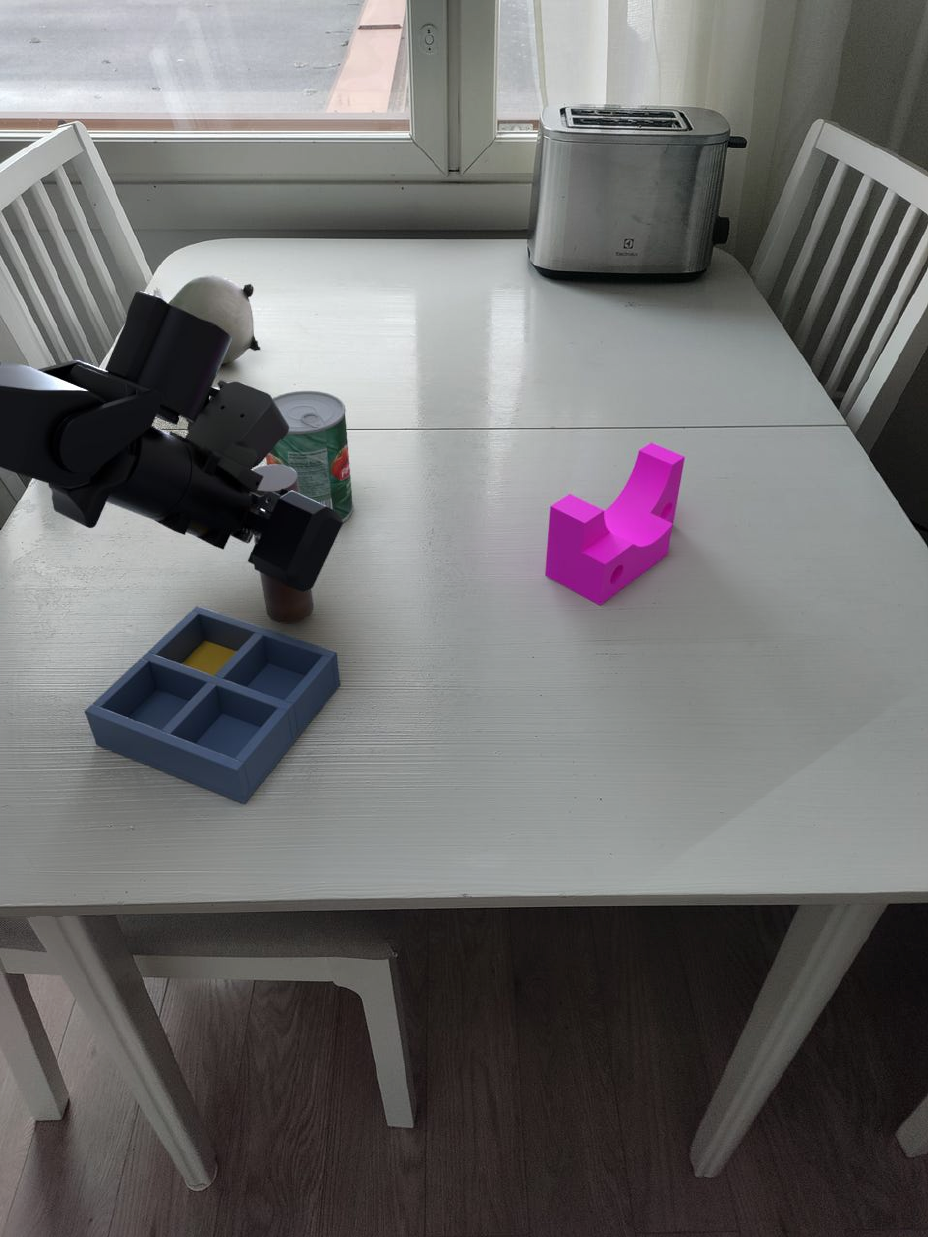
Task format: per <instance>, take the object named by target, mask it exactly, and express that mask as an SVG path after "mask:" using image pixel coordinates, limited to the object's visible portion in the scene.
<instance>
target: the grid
mask: <svg viewBox="0 0 928 1237" xmlns="http://www.w3.org/2000/svg"><path fill="white" fill-rule="evenodd" d="M338 660H339V659H338V652H337V651H336V650H332V649H329V648H326V647H323V646H321V645H320V646H319V645H317V644H315V643H311V642H308V641H305V640H302V639H299V638H296V637H293V636H290V635H286V634H284V633H280V632H278V631H274V630H272V629H270V628H266V627H262V626H259V625H257V624H253V623H251V622H248V621H245V620H241V619H238V618H236V617H232V616H229V615H226V614H223V613H220V612H217V611H214V610H212V609H209V608H205V607H201V606H198V605H196V606H195V607H194V608H193V609H192V610H191V611H190V612H188V613H187V614H186V615H185V616H184V617H183V618H182V619H181V620H180V621H178V623H176V624H175V626H174V627H173V628H171V629H170V630H169V631H168V632H167V633H166V634H165V635H164V636H162V638H160V639H159V641H157V642H156V643H155V645H153V646H152V647H151V648H149V650H148V651H147V652H146V653H145V654H144V655H143V656H142V657H141V658H139V659H138V660H137V661H136V662H135V663H134V664H133V665H132V666H131V667H130V668H129V669H127V671H125V672H124V673H123V674H122V675H121V676H120V677H119V678H118V679H117V680H116V681H115V682H114V683H112V684H111V686H109V687H108V688H107V689H106V690H105V691H104V692H103V693H102V694H101V695H100V696H98V697H97V699H96V700H95V701H93V702H92V703H91V704H90V705H89V706H88V707H87V708H86V709H85V710H84V714H85V716H86V720H87V722H88V725H89V728H90V730H91V733H92V736H93V739H94V742H95V744H96V746H99V747H101V748H104V749H105V750H106V749H107V751H112V752H114V753H116V754H118V755H121V756H123V757H126V758H129V759H130V760H134V761H136V762H138V763H140V764H143V765H146V766H148V767H151V768H153V769H156V770H159V771H161V772H163V773H166V774H168V775H171V776H173V777H175V778H178V779H181V780H184V781H185V782H188V783H190V784H193V785H196V786H198V787H200V788H202V789H205V790H208V791H210V792H213V793H216V794H218V795H221V796H223V797H226V798H228V799H230V800H233V801H235V802H238V803H240V804H243V805H245V804H246V803H247V802H248V801H249V800H250V799H251V797H252V796H253V794H254V793H255V792H256V791H257V790H258V788H259V787H260V786H261V785H262V784H263V783H264V781H265V780H266V778H267V777H268V776H269V775H270V773H271V772H272V771H273V769H275V767H276V766H277V765H278V764H279V762H280V761H281V760H282V759H283V757H284V756H285V755H286V753H287V752H288V751H289V750H290V748H291V747H292V746H293V745H294V743H295V742H296V741H297V740H298V739H299V737H300V736H301V735H302V734H303V732H304V731H305V730H306V729H307V727H308V726H309V725H310V724H311V722H313V720H314V719H315V718H316V716H317V715H318V714H319V713H320V712H321V710H322V709H323V707H324V706H325V705H326V704H327V703H328V702H329V700H331V698H332V696H333V695H334V694H335V693H336V692H337V690H338V689H339V688H340V686H341V678H340V668H339V661H338Z"/></svg>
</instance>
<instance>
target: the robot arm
mask: <svg viewBox="0 0 928 1237" xmlns="http://www.w3.org/2000/svg"><path fill="white" fill-rule="evenodd" d="M231 340H232V337H231V336H230V335H229V334H228V333H227V332H226V331H224V330H223V329H222V328H220V327H219V326H217V325H216V324H214V323H211V322H208V321H205V320H202V319H199V318H197V317H195V316H194V315H192V314H190V313H188V312H186V311H183V310H181V309H179V308H177V307H175V306H172V305H170V304H169V302H167V301H166V300H165V301H164V300H163V299H162V298H160V297H157V296H154V294H151V293H147V292H144V291H141V290H137V291H136V292H135V293H134V295H133V297H132V300H131V302H130V304H129V306H128V309H127V313H126V319H125V322H124V325H123V328H122V329H121V332H120V334H119V336H118V338H117V340H116V343H115V345H114V347H113V350H112V352H111V355H110V357H109V359H108V361H107V363H106V367H105V368H104V369H103V368H99V367H97V366H94V365H93V364H92V365H91V364H90V363H87V362H84V361H82V360H79V359H72V360H69V361H64V362H61V363H57V364H54V365H50V366H45V367H41V368H38V369H36V368H33V367H30V366H28V365H25V364H19V363H18V364H17V363H0V468H1V469H4V470H7V471H10V472H12V473H15V474H18V475H21V476H24V477H27V478H31V479H34V480H36V481H40V482H42V483H46V484H48V487H49V489H50V490H51V493H52V494H51V501H52V507H53V511H55V513H58V514H60V515H62V516H63V517H66V518H68V519H70V520H72V521H74V522H76V523H78V524H80V525H82V526H84V527H86V528H88V529H93V528H95V527H96V526H97V525H98V522H99V519H100V517H101V515H102V512H103V510H104V508H105V506H106V504H107V503H108V504H111V505H114V506H116V507H119V508H121V509H124V510H126V511H129V512H132V513H134V514H137V515H140V516H142V517H145V518H148V519H150V520H153V521H155V522H156V523H158V524H160V525H162V526H164V527H166V528H167V529H170V530H172V531H174V532H176V533H178V534H180V535H184V536H185V535H186V534H189V535H191V536H194V537H196V538H198V539H200V540H202V541H203V542H205V543H207V544H209V545H211V546H213V547H215V548H218V549H220V550H223V551H224V549H226V548H225V547H226V546H227V543H228V541H229V539H230V538H231V537H233V538H235V539H237V540H239V541H241V542H242V543H244V544H250V543H251V542H252V539H253V538H254V536H256V538H255V540H254V539H253V541H254V542H253V543H254V546H253V548H252V551H251V552H250V554H249V556H248V558H247V562H248V563H250V564H252V565H253V567H254V568H253V569H254V570H255V571H257V572H259V573H260V572H261V573H263V574H265V575H267V576H269V577H271V578H272V579H274V580H276V581H278V582H280V583H282V584H284V585H286V586H288V587H290V588H293V589H296V590H298V591H301V592H305V591H307V590H310V589H311V590H312V589H313V588H314V586H315V584H316V582H317V580H318V577H319V575H320V573H321V571H322V570H323V567H324V564H325V563H326V560H327V559H328V556H329V554H330V553H331V550H332V548H333V546H334V543H335V542H336V539H337V537H338V535H339V533H340V531H341V529H342V526H343V524H344V522H343V521H342V517H341V513H339V512H337V511H335V510H333V509H331V508H329V507H327V506H325V505H323V504H321V503H319V502H316V501H314V500H312V499H310V498H308V497H305V496H303V495H301V494H299V493H297V492H295V491H292V490H291V491H290V492H289V491H287V490H285V489H283V488H282V489H281V491H280V493H279V494H277V493H275V492H272V491H268V492H266V493H264V494H263V495H262V496H259V495H257V494H254V493H252V492H251V490H252V491H254V492H256V491H257V489H258V487H259V485H260V483H261V481H262V479H263V477H264V476H262V475H261V474H259V473H257V472H255V471H253V470H254V469H255V468H257V467H259V465H260V464H261V463H263V461H264V460H265V459H266V456H267V455H268V453H269V452H270V451H271V450H272V449H273V447H274V446H275V445H276V444H277V443H278V441H279V440H282V439H283V438H284V437H285V436H286V435H287V433H288V431H289V425H288V423H287V421H286V420H285V418H284V417H283V415H282V413H281V412H280V410H279V409H278V407H277V405H276V404H275V402H274V400H273V399H272V398H273V397H272V396H271V395H270V394H269V393H268V392H266V391H263V390H260V389H258V388H256V387H253V386H250V385H249V384H246V383H243V382H240V381H235V380H234V381H233V380H232V381H229V382H227V381H224V380H222V379H219V380H218V381H217V386H218V387H213V384H214V382H215V379H216V377H217V375H218V372H219V370H220V368H221V366H222V364H221V363H222V361H223V359H224V356H225V354H226V352H227V350H228V347H229V345H230V343H231ZM156 418H158V419H159V420H162V421H165V422H167V423H168V424H172V425H174V426H178V424H179V421H180V419H181V418H183V419H185V421H186V422H187V423H188V424H187V427H186V430H187V434H186V435H185V437H184V436H183V435H180V434H178V433H176V432H173V431H170V432H169V433H168V432H166V431H164V430H162V429H159V428H158V427H155V426H154V425H153V424H154V422H155V419H156ZM251 507H252V508H254V509H256V510H258V511H259V512H258V514H256V513H254V512H252V511H250V508H251ZM261 508H262V509H264V510H262V509H261ZM265 510H266V511H265ZM268 511H269V512H268ZM255 543H256V544H255Z"/></svg>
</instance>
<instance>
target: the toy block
mask: <svg viewBox="0 0 928 1237" xmlns="http://www.w3.org/2000/svg"><path fill="white" fill-rule="evenodd" d="M685 458H686V456H684V455H682V454H680V453H678V452H675V451H672V450H670V449H668V448H666V447H663V446H661V445H658V444H656V443H654V442H650V443H648V444H647V445H645V446H643V447H642V448H640V449H639V450H638V452H637V457H636V460H635V463H634V465H633V468H632V471H631V472H630V476H629V478H628V480H627V481H626V483H625V485H624V486H623V488H622V490H621V492H619V494H618V496H617V497H616V499H615V500H614V501H613V502H612V503H611V504H610V505H609V506H608V507H607V508H606V509H605V510H604V509H602V508H600V507H598V506H596V505H594V504H592V503H590V502H588V501H586V500H583V499H581V498H580V497H578V496H576V495H573V494H571V493H569V494H567V495H565V496H564V497H563V498H561V499H559V500H558V501H556V502H554V503H553V504H551V505H550V506H549V519H548V531H547V532H548V533H547V544H546V558H545V559H546V560H545V561H546V562H545V572H544V575H545V576H546V577H548V578H549V579H551V580H553V581H555V582H556V583H559V584H560V585H562V586H564V587H566V588H567V589H569V590H571V591H573V592H575V593H576V594H579V595H580V596H582V597H584V598H586V599H588V600H589V601H591V602H593V603H594V604H597V605H598V606H601V605H603V604H604V603H605V602H607V601H609V599H611V598H613V596H615V595H616V594H617V593H619V592H620V591H622V590H623V589H624V588H626V587H627V586H628V585H630V584H631V583H632V582H633V581H635V580H636V579H637V578H639V577H640V576H641V575H643V574H644V573H645V572H647V571H648V570H650V569H651V568H652V567H653V566H655V565H656V564H658V563H659V562H661V560H662V559H664V558H665V557H667V556H668V553H669V549H670V541H671V536H672V532H673V525H674V523H675V522H674V521H675V515H676V510H677V504H678V498H679V492H680V488H681V481H682V476H683V472H684V471H683V470H684V465H685Z"/></svg>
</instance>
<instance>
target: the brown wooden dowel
mask: <svg viewBox="0 0 928 1237" xmlns="http://www.w3.org/2000/svg"><path fill="white" fill-rule="evenodd" d="M252 470H253V471H255V472H257V473H259V474H261V475H262V476H264V477H263V479H262V481H261V483H260V485H259V487H258V489H257V491H256V492H254V491H252V490H251V492H252V493H254V494H257V495H259V496H262V495H263V494H264V493H266V492H268V491H272V492H275V493H277V494H279V493H280V491H281V489H282V488H283V489H285V490H287V491H289V492H290V491H291V490H292V491H295V492H297V493H299V494H300V491H299V483H298V475H297V473H296V471H295V470H293V469H292V468H290V467H288V466H284V465H267V464H265V465H261V466H257V467H255V468H253V469H252ZM261 509H262V508H261ZM262 510H264V509H262ZM250 511H252V512H254V513H256V514H258V512H259V511H258V510H256V509H254V508H252V507H251V508H250ZM265 511H266V510H265ZM268 512H269V511H268ZM255 538H256V536H254V535H253V541H254V540H255ZM255 544H256V543H255V542H254V545H255ZM259 576H260V582H261V587H262V594H263V601H264V607H265V613H266V615H267V617H268V618H269V619H271V620H272V621H274V622H276V623H280V624H296V623H299V622H301V621H303V620H305V619H307V618H308V617H309V616H310V615H311V614H312V612H313V610H314V598H313V590H312V589H310V590H307V591H305V592H301V591H298V590H296V589H293V588H290V587H288V586H286V585H284V584H282V583H280V582H278V581H276V580H274V579H272V578H271V577H269V576H267V575H265V574H263V573H261V572H259Z"/></svg>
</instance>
